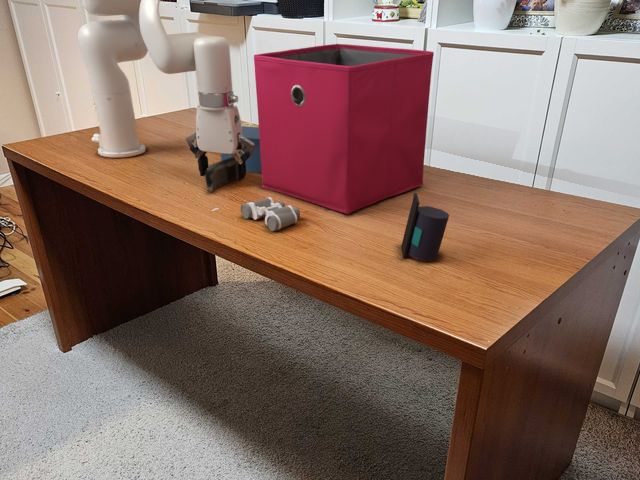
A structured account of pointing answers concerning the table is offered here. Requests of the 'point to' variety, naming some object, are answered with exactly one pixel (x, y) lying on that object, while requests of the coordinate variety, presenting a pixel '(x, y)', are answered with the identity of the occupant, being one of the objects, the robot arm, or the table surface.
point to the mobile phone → (220, 173)
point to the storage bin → (343, 122)
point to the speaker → (424, 231)
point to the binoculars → (271, 213)
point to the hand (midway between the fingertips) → (222, 177)
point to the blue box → (255, 159)
